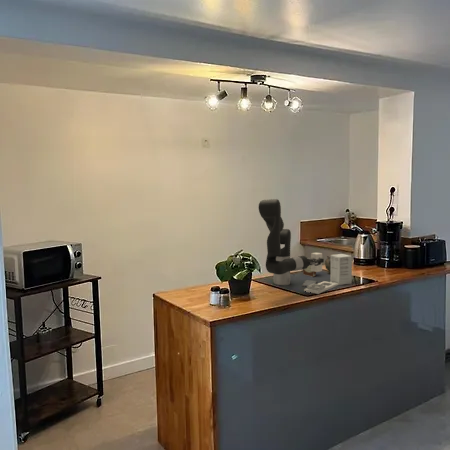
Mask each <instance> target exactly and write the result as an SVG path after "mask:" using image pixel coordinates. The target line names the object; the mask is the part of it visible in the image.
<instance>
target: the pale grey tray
mask: <svg viewBox="0 0 450 450" xmlns="http://www.w3.org/2000/svg"><path fill="white" fill-rule="evenodd" d="M337 286H339V285H338V283H334V282H333V281H332V282H330V281H325V280H323V281H322V282H317V283H316V284H311V285H309V286H307V287H305V288H304V289H303V292H305V291H306V293H310V292H311V293H310V294H316V295H319V294H321V293H324V292H326V291H327V290H331V289H332V288H335V287H337Z"/></svg>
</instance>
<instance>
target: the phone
mask: <svg viewBox="0 0 450 450" xmlns="http://www.w3.org/2000/svg"><path fill="white" fill-rule="evenodd" d="M311 284H318V280H312V279H311V280H310V279H305V280H304V282H303V283H302V284H301V287H302V288H307V286H309V285H311Z"/></svg>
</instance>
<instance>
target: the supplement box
mask: <svg viewBox="0 0 450 450" xmlns="http://www.w3.org/2000/svg"><path fill="white" fill-rule="evenodd" d="M330 257H331V275H330V279H329V280H330V281H329V282H332V281H333V282H334V283H338V285H337V286H339V285H349V284H351V285H352V280H353V275H352V273H353V272H352V271H353V269H352V267H353V262H352V261H353V260H352V259H353V256H352V255H350V254H345V253H339V254H338V253H337V254H330Z"/></svg>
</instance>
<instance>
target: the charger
mask: <svg viewBox="0 0 450 450" xmlns="http://www.w3.org/2000/svg"><path fill="white" fill-rule="evenodd" d="M310 257H311V259H323V253H322V252H311V253H310ZM313 261H314V260H313ZM311 271H315V272H316V273H318V272H322V271H323V263H321V264H320V265H318V266H315V265H311Z"/></svg>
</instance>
